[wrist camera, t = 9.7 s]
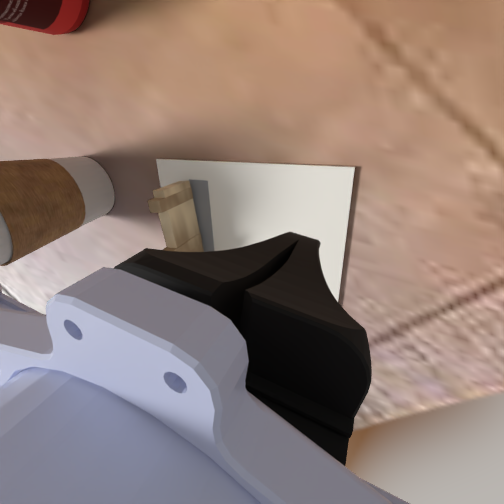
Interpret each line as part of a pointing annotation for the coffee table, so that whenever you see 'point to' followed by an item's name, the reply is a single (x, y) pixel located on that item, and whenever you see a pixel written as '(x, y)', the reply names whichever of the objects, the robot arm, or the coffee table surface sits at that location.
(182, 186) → the fence panel
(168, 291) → the robot arm
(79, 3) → the canned food
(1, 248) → the coffee cup
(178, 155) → the coffee table surface
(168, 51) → the coffee table surface
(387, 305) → the coffee table surface
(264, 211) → the card
